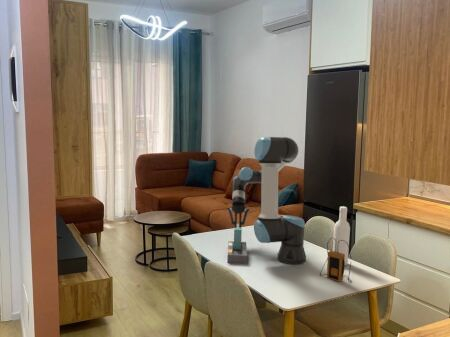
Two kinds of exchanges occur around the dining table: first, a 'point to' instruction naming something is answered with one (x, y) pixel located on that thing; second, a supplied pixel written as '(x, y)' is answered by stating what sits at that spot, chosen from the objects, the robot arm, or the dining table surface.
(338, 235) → the bottle
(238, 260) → the switch housing
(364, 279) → the dining table surface
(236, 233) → the switch knob
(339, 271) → the multimeter
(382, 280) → the dining table surface
